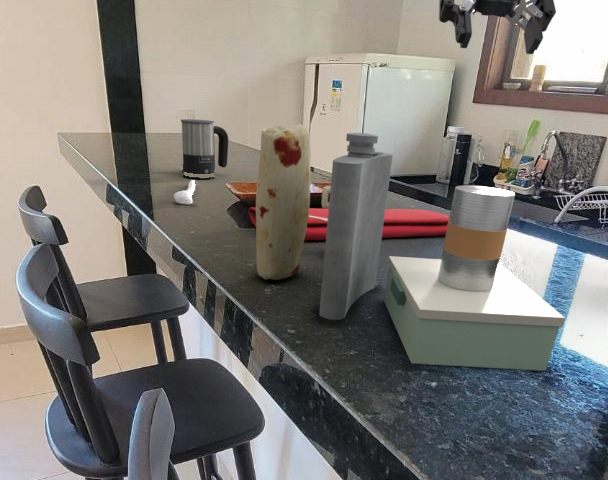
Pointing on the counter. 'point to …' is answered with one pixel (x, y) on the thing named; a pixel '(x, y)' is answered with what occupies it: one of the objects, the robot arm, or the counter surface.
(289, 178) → the food model
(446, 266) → the tin can
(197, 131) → the milk frother
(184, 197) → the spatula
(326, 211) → the dish drying mat
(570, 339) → the counter surface
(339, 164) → the hip flask
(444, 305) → the box
